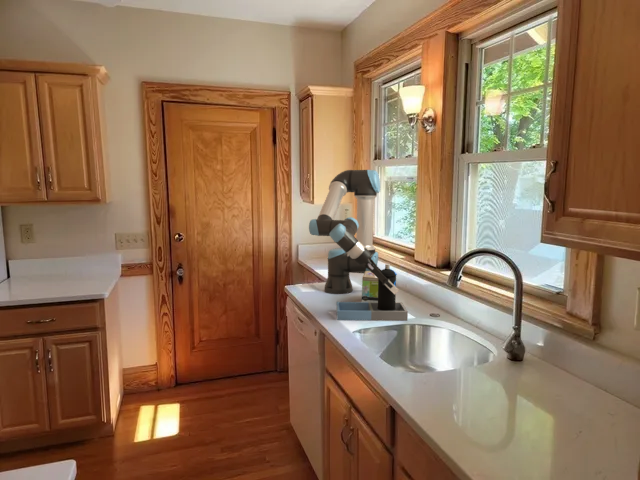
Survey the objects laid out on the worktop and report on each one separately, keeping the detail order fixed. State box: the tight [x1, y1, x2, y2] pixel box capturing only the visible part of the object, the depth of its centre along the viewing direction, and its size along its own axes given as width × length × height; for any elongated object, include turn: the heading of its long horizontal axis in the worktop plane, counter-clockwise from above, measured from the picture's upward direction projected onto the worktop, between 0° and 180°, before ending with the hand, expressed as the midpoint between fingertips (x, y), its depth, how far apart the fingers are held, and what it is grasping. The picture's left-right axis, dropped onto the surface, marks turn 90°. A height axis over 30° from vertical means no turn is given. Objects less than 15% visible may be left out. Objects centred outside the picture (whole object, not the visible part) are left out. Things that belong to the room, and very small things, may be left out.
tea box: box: [361, 271, 378, 302], centre depth 211 cm, size 15×10×15 cm
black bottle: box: [377, 263, 398, 311], centre depth 191 cm, size 8×8×20 cm
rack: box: [336, 301, 409, 322], centre depth 193 cm, size 14×30×4 cm, turn 89°
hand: (395, 289), depth 191 cm, fingers closed on black bottle, 8 cm apart
